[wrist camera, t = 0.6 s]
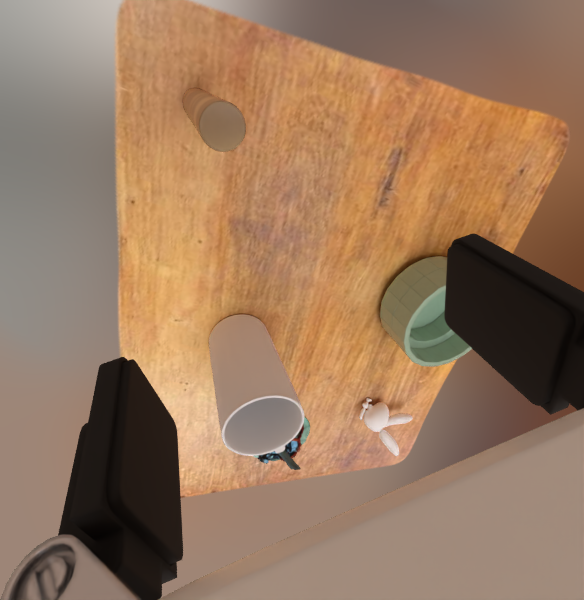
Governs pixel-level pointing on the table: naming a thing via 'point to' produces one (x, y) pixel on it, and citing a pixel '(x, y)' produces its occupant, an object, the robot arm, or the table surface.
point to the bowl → (421, 314)
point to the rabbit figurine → (383, 422)
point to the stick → (215, 119)
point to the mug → (252, 388)
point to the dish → (289, 448)
